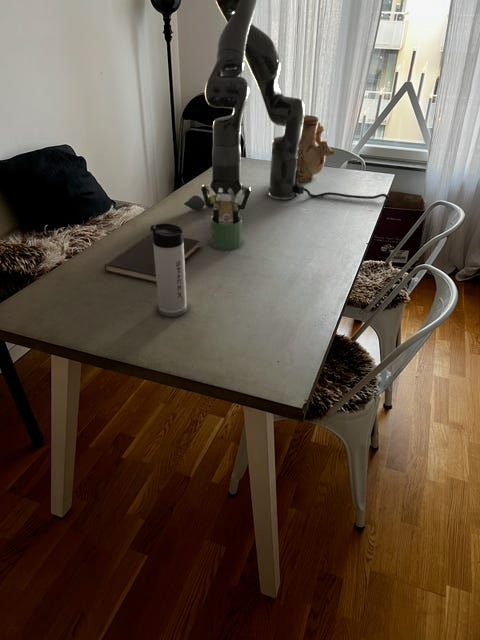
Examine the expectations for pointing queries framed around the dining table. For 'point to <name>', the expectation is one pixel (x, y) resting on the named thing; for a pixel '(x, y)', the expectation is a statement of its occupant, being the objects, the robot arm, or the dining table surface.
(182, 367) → the dining table surface
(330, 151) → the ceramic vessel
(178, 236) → the travel mug
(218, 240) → the cup
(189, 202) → the paintbrush
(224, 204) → the sprinkles bottle
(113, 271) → the hardcover book
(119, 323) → the dining table surface
